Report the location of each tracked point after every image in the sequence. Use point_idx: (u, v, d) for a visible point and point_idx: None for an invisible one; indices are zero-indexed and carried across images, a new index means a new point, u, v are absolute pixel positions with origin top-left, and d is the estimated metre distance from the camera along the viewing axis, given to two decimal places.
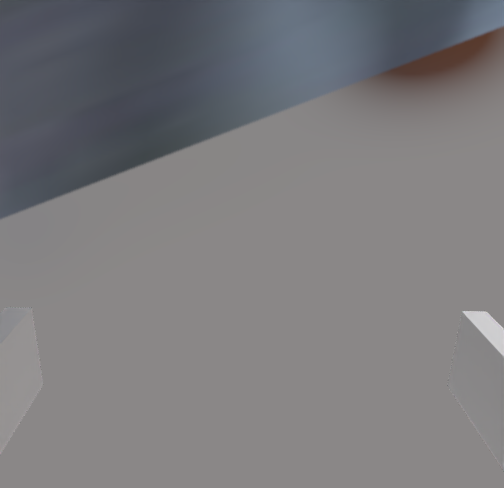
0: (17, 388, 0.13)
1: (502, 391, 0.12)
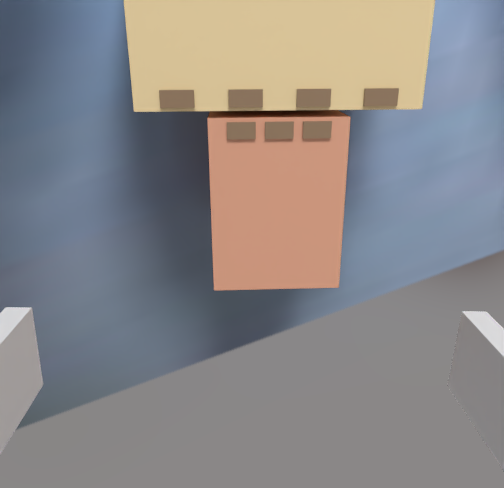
0: (17, 388, 0.13)
1: (502, 391, 0.12)
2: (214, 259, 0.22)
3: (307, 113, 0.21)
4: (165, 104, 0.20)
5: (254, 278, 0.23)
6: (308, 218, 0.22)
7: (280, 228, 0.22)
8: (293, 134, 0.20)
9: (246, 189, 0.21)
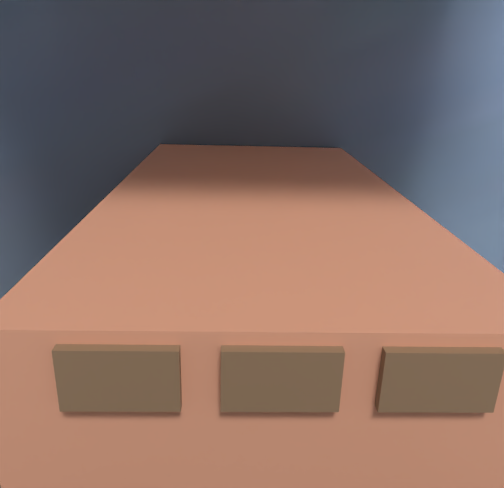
0: None
1: None
2: None
3: (383, 275, 0.06)
4: None
5: None
6: None
7: None
8: (339, 396, 0.05)
9: None
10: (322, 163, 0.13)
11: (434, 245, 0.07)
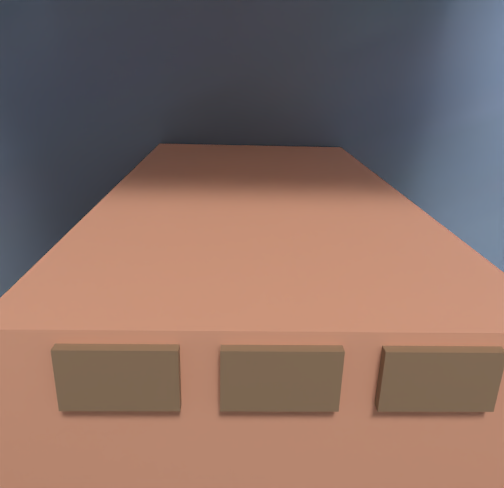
0: None
1: None
2: None
3: (383, 274, 0.06)
4: None
5: None
6: None
7: None
8: (338, 395, 0.05)
9: None
10: (322, 162, 0.13)
11: (434, 244, 0.07)
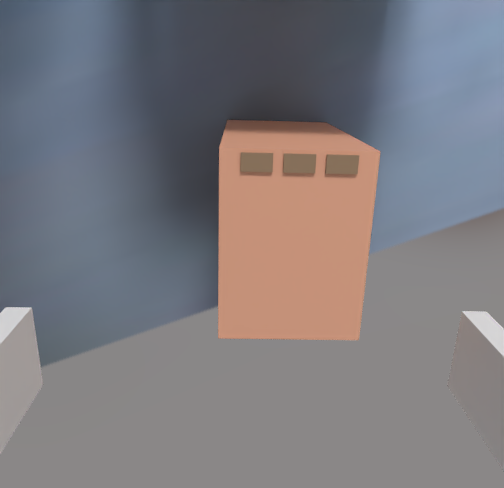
0: (17, 388, 0.13)
1: (502, 391, 0.12)
2: (220, 304, 0.20)
3: (330, 145, 0.19)
4: None
5: (263, 326, 0.20)
6: (328, 262, 0.19)
7: (296, 272, 0.19)
8: (315, 169, 0.18)
9: (259, 227, 0.19)
10: (315, 126, 0.27)
11: (351, 142, 0.20)
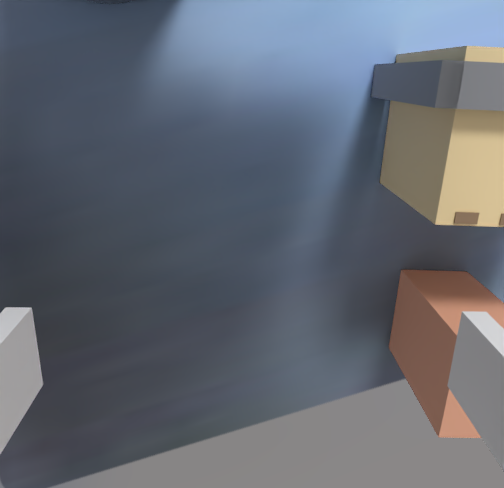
0: (17, 388, 0.13)
1: (502, 391, 0.12)
2: (443, 418, 0.34)
3: None
4: (457, 220, 0.29)
5: (466, 431, 0.34)
6: None
7: None
8: None
9: None
10: (469, 284, 0.41)
11: None
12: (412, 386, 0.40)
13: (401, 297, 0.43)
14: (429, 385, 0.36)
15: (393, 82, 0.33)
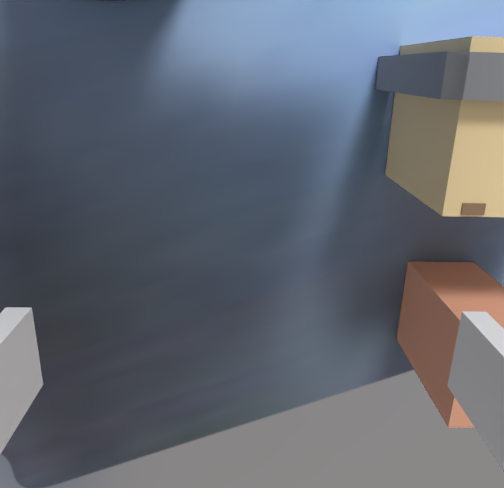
0: (17, 388, 0.13)
1: (502, 391, 0.12)
2: (453, 409, 0.34)
3: None
4: (463, 212, 0.29)
5: None
6: None
7: None
8: None
9: None
10: (476, 275, 0.41)
11: None
12: (421, 377, 0.40)
13: (408, 289, 0.43)
14: (438, 375, 0.36)
15: (398, 74, 0.33)
